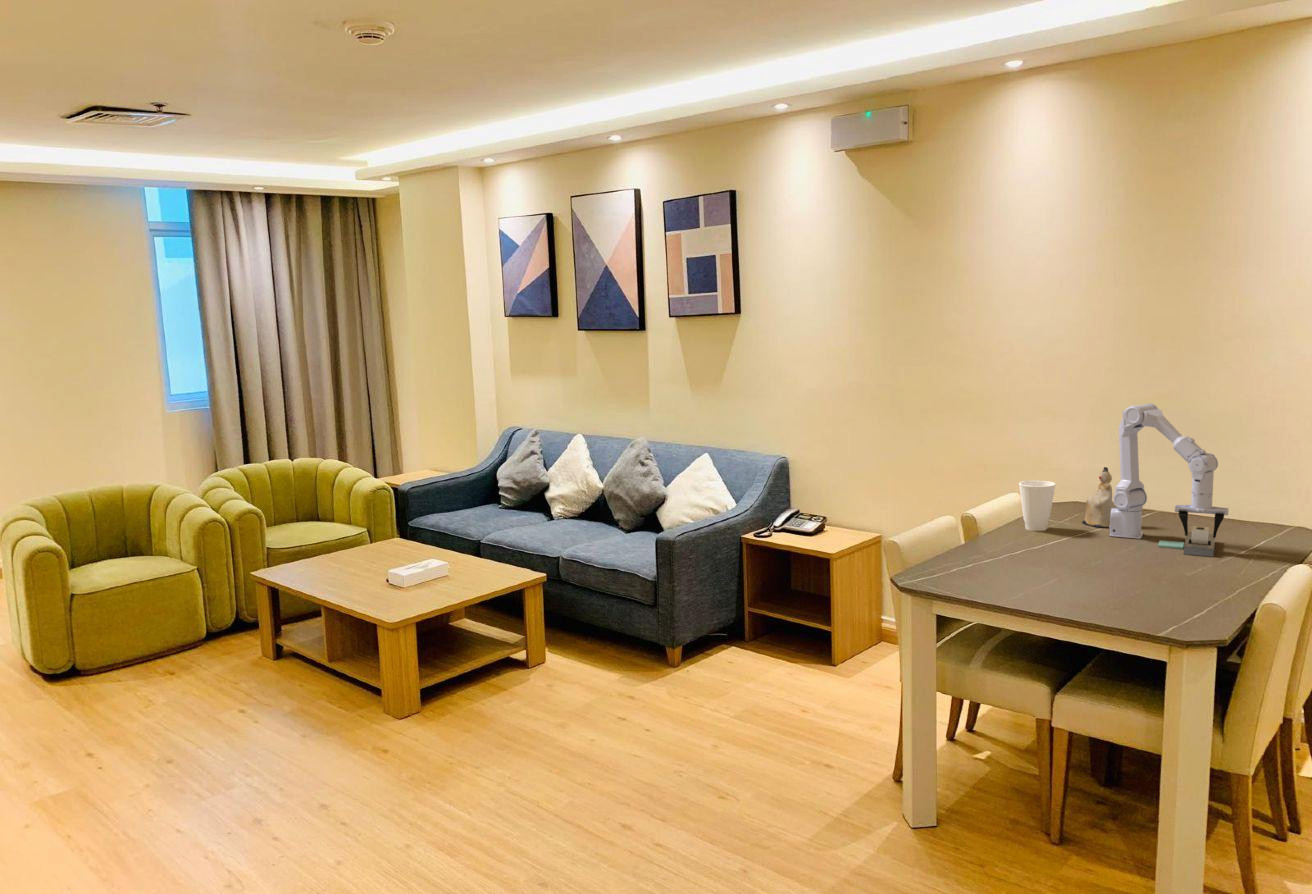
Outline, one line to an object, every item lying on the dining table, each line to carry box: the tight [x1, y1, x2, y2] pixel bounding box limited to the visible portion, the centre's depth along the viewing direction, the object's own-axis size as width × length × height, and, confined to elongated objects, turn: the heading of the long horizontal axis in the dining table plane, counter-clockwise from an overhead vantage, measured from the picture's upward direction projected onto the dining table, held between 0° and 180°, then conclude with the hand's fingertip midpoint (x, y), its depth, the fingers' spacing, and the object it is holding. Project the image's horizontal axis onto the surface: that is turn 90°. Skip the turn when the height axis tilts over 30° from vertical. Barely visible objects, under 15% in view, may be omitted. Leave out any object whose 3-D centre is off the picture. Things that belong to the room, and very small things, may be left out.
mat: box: [1157, 539, 1185, 550], centre depth 318 cm, size 7×7×1 cm
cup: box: [1018, 479, 1057, 532], centre depth 345 cm, size 12×12×16 cm
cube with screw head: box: [1191, 525, 1210, 545], centre depth 311 cm, size 4×4×7 cm
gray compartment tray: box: [1183, 531, 1216, 558], centre depth 314 cm, size 8×20×3 cm, turn 150°
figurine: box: [1081, 466, 1117, 529], centre depth 348 cm, size 12×10×20 cm
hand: (1200, 536), depth 311 cm, fingers open, 7 cm apart
